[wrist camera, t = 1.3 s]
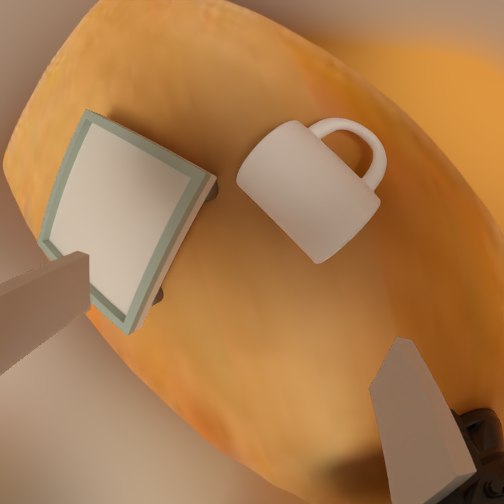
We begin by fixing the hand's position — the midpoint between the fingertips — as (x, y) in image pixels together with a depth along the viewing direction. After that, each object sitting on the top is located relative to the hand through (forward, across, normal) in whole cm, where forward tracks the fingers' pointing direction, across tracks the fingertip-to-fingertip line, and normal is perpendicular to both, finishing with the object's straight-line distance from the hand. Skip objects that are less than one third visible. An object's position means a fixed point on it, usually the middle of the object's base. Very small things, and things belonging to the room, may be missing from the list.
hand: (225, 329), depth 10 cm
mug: (+20, -4, -6) cm, 21 cm away
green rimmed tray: (+20, +17, +2) cm, 26 cm away
